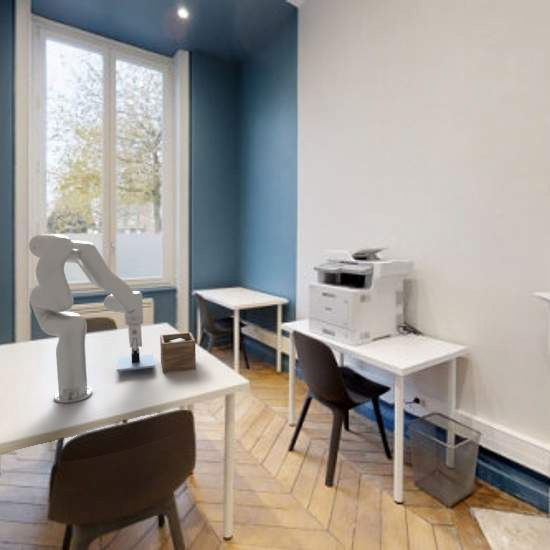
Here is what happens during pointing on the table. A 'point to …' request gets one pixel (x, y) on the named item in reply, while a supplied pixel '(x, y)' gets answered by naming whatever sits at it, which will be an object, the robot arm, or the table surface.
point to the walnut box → (177, 352)
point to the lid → (127, 364)
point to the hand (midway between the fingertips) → (135, 360)
